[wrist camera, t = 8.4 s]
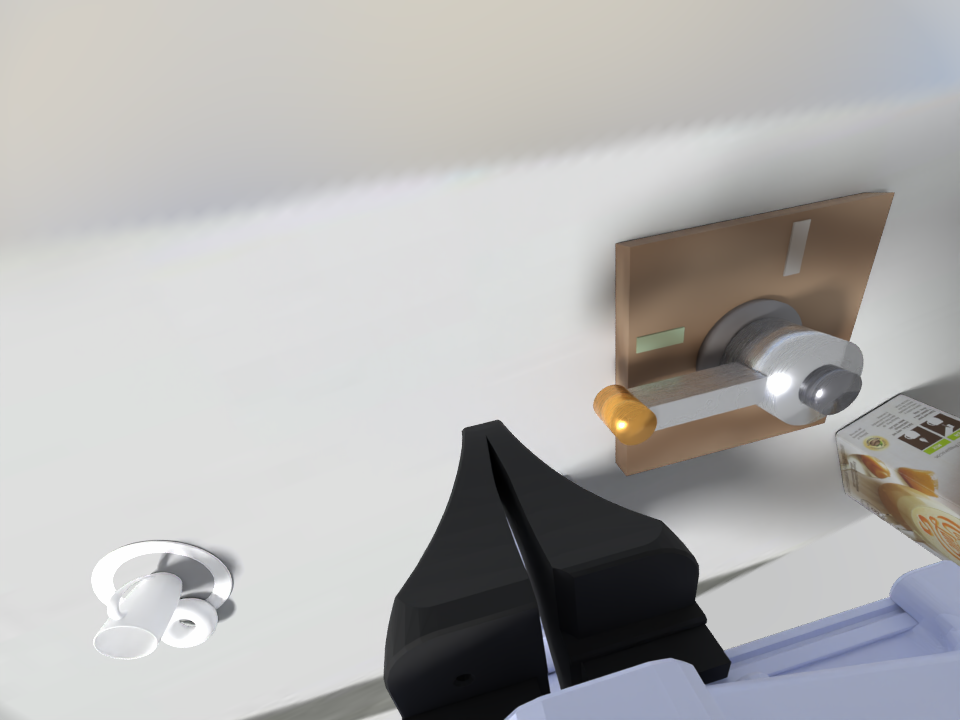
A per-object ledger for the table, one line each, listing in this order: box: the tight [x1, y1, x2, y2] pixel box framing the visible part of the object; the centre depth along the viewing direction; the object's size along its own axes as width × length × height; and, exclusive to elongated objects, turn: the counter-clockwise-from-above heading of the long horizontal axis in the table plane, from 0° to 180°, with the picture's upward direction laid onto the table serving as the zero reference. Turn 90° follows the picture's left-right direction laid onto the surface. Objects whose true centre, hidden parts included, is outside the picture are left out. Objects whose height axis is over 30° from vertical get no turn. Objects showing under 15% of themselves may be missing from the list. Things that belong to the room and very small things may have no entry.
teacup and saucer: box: [92, 541, 232, 659], centre depth 23 cm, size 9×8×4 cm
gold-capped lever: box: [593, 317, 863, 445], centre depth 20 cm, size 14×5×5 cm, turn 100°
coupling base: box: [616, 192, 895, 476], centre depth 24 cm, size 16×16×2 cm
